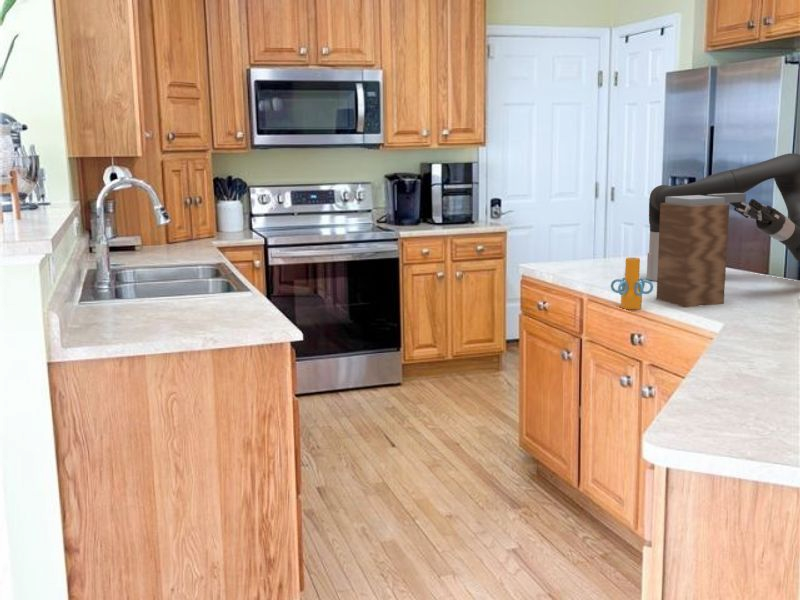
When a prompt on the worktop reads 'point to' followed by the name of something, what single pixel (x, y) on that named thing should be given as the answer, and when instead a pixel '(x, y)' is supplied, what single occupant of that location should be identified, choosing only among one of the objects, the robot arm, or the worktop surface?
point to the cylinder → (631, 285)
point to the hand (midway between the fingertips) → (740, 200)
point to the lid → (706, 199)
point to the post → (692, 254)
